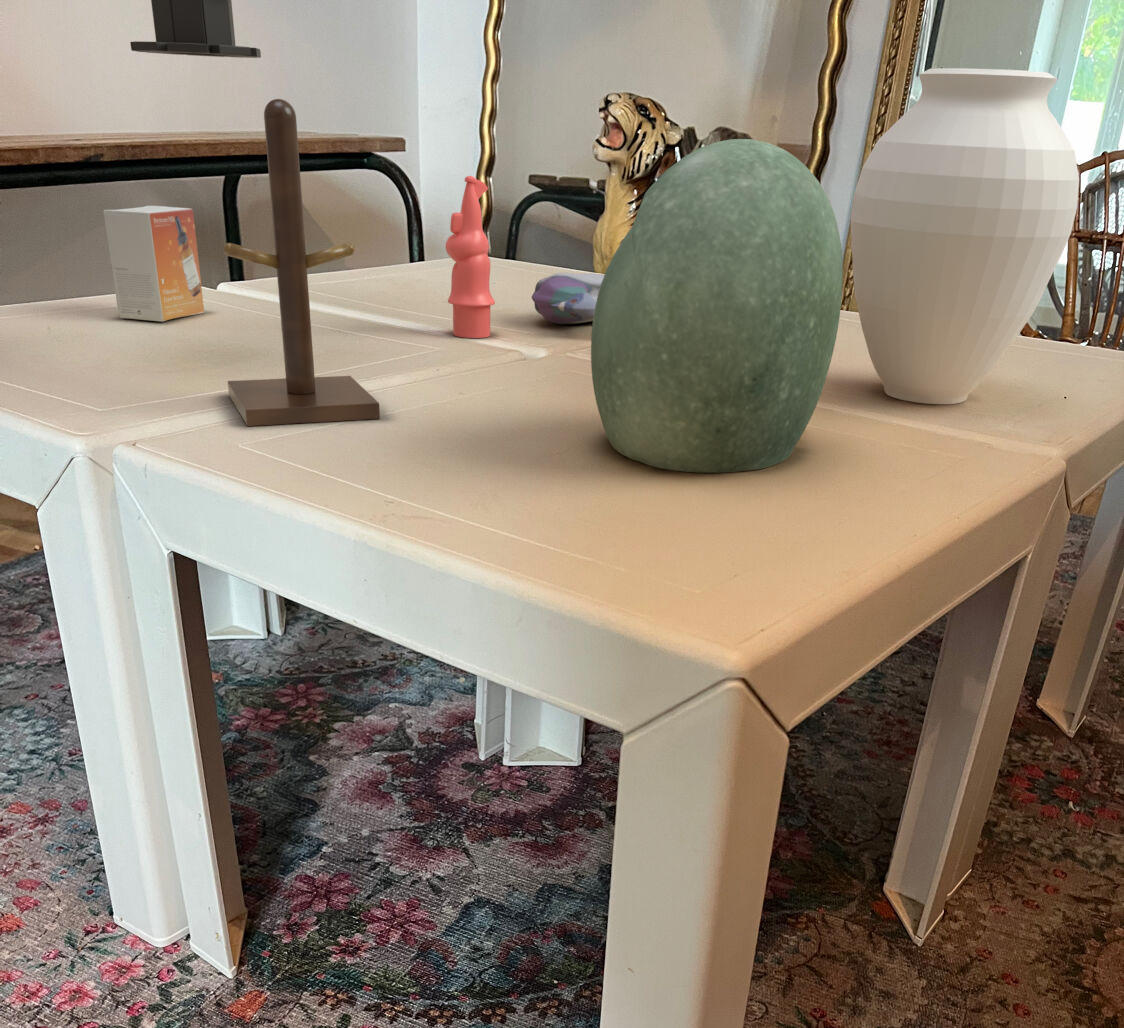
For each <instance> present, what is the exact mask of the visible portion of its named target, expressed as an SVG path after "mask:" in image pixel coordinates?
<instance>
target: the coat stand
mask: <svg viewBox="0 0 1124 1028" xmlns="http://www.w3.org/2000/svg"><path fill="white" fill-rule="evenodd" d="M263 120H264V121H263V122H264V133H265V134H264V135H265V147H266V156H267V159H266V160H267V168H268V170H267V171H268V181H269V193H270V205H271V206H270V207H271V216H272V229H273V240H274V241H273V242H274V253H275V254H272V253H270V252H269V253H268V252H265V251H261V250H258V249H254V248H251V247H248V246H244V245H239V244H236V243H232V242H227V243H225V244H224V245H223V252H224V254H225V255H226V256H228V257H230V258H234V259H238V260H242V261H245V262H249V263H253V264H256V265H261V266H263V267H268V268H272V269H275V270H276V275H277V276H276V277H277V278H276V279H277V290H278V300H279V313H280V326H281V337H282V346H283V347H282V348H283V349H282V350H283V359H284V371H285V373H284V374H285V378H266V379H264V378H263V379H243V380H227V390H228V396H229V398H230V399H231V402H232V403H233V405H234V406H235V408H236V410H237V411H238V413H239V415H240V417H241V418H242V420H243V421H244V423H245V424H246V426H247V427H257V426H258V427H259V426H260V427H261V426H274V425H275V426H276V425H277V426H278V425H292V424H309V423H327V422H329V423H331V422H344V421H345V422H346V421H347V422H348V421H364V420H365V421H366V420H379V419H380V418H381V414H380V402H379V401H377V400H376V399H375V398H374V397H373V396H372V395H371V394H370V393H369V392H368V391H367V390H366V389H365V388H364V387H363V386H362V385H360V384H359V383H358V381H356V380H355V378H353V377H352V376H351V375H337V376H334V375H333V376H315V363H314V350H313V348H314V347H313V335H312V323H311V321H312V320H311V307H310V292H309V279H308V270H309V269H311V268H314V267H318V266H320V265H321V266H322V265H324V264H327V263H330V262H334V261H336V260H337V261H338V260H340V259H344V258H346V257H347V258H348V257H350V256H352V255H354V253H355V246H354V244H353V243H352V242H344V243H341V244H338V245H335V246H331V247H328V248H324V249H322V250H319V251H318V250H317V251H315V252H311V253H308V254H307V251H306V250H307V249H306V237H305V236H306V235H305V223H304V207H303V194H302V193H303V192H302V181H301V179H302V178H301V167H300V166H301V165H300V155H299V154H300V153H299V138H298V137H299V136H298V125H297V115H296V110H295V109H294V107H293V106H292V104H290V102H288V101H287V100H285V99H281V98H274V99H272V100H270V101H269V102H268V103H267V104H266V105H265V107H264V110H263Z"/></svg>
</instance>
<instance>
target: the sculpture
mask: <svg viewBox="0 0 1124 1028" xmlns="http://www.w3.org/2000/svg"><path fill="white" fill-rule="evenodd" d="M838 226H839V225H838V221H837V219H836V215H835V211H834V210H833V207H832V204H831V202H830V200H829V197H828V194H827V193H826V191H825V189H824V188H823V186H822V184H821V183H820V181H819V180H818V178H817V177H816V176H815V175H814V173H813V172H812V171H811V170H810V169H809V168H808V167H807V166H806V165H805V164H804V163H803V162H802V161H801V160H800V159H799V158H798V157H796V156H795V155H793V154H792V153H790V152H789V151H787V150H785V149H784V148H781V147H779V146H777V145H774V144H772V143H769V142H766V141H761V140H757V139H751V138H730V139H726V140H720V141H716V142H713V143H709V144H707V145H705V146H702V147H699V148H697V149H696V150H693V151H692V152H690V153H688V154H687V155H685V156H683V157H682V158H681V159H679V160H678V161H676V162H675V163H674V164H673V165H671V166H670V167H669V168H667V170H666V171H665V172H664V173H662V174H661V175H660V176H659V177H658V178H657V180H656V181H654V182H653V184H652V185H650V187H649V188H648V189H647V190H646V192H645V193H644V194H643V198H642V201H641V202H640V206H639V208H638V210H637V212H636V216H635V219H634V220H633V224H632V226H631V227H630V229H629V230H628V231H627V233H626V234H625V236H624V237H623V239H622V241H621V242H620V244H619V246H618V247H617V249H616V250H615V252H614V254H613V256H612V258H611V259H610V262H609V264H608V266H607V268H606V270H605V273H604V274H605V275H604V278H603V281H602V283H601V286H600V290H599V293H598V297H597V302H596V307H595V312H594V318H593V321H592V325H591V326H592V328H591V340H590V366H591V376H592V385H593V393H594V397H595V398H594V399H595V402H596V403H595V404H596V406H597V410H598V414H599V417H600V421H601V424H602V427H603V429H604V432H605V435H606V437H607V439H608V441H609V443H610V446H612V447H613V448H614V450H615V451H617V452H618V453H619V454H620V455H622V456H624V457H626V458H628V459H630V460H633V461H635V462H638V463H642V464H644V465H646V466H647V465H648V466H650V467H654V468H657V469H663V470H668V471H676V472H685V473H700V474H701V473H704V474H718V473H719V474H721V473H735V472H746V471H747V472H748V471H757V470H763V469H766V468H770V467H772V466H775V465H778V464H780V463H782V462H784V461H785V460H787V459H788V458H789V457H790V456H791V455H792V453H793V451H794V450H795V448H796V445H797V444H798V442H799V441H800V439H801V437H802V436H803V434H804V433H805V431H806V429H807V427H808V425H809V423H810V421H811V418H812V416H813V415H814V412H815V410H816V408H817V405H818V403H819V401H820V397H821V396H822V392H823V389H824V386H825V384H826V380H827V376H828V373H829V369H830V366H831V362H832V358H833V354H834V350H835V345H836V341H837V335H838V329H839V325H840V317H841V309H842V300H843V299H842V298H843V297H842V296H843V282H844V281H843V279H844V278H843V277H844V276H843V275H844V272H843V270H844V269H843V251H842V249H843V248H842V242H841V236H840V231H839V227H838Z"/></svg>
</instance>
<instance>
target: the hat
mask: <svg viewBox="0 0 1124 1028" xmlns="http://www.w3.org/2000/svg"><path fill="white" fill-rule="evenodd" d="M150 2H151V9H152V10H151V12H152V19H153V20H152V21H153V27H154V28H153V29H154V36H155V41H140V40H139V41H137V40H134V41H130V50H131V51H132V52H136V53H146V54H147V53H148V54H160V55H161V54H162V55H177V56H178V55H181V56H195V57H196V56H197V57H216V58H217V57H218V58H241V59H243V58H244V59H246V58H248V59H249V58H250V59H255V58H256V59H259V58H261V57H262V54H261V53H262V52H261V49H260V48H257V47H250V46H241V45H240V46H239V45H237V44H236V36H235V25H234V14H233V13H234V12H233V2H232V0H150Z"/></svg>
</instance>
